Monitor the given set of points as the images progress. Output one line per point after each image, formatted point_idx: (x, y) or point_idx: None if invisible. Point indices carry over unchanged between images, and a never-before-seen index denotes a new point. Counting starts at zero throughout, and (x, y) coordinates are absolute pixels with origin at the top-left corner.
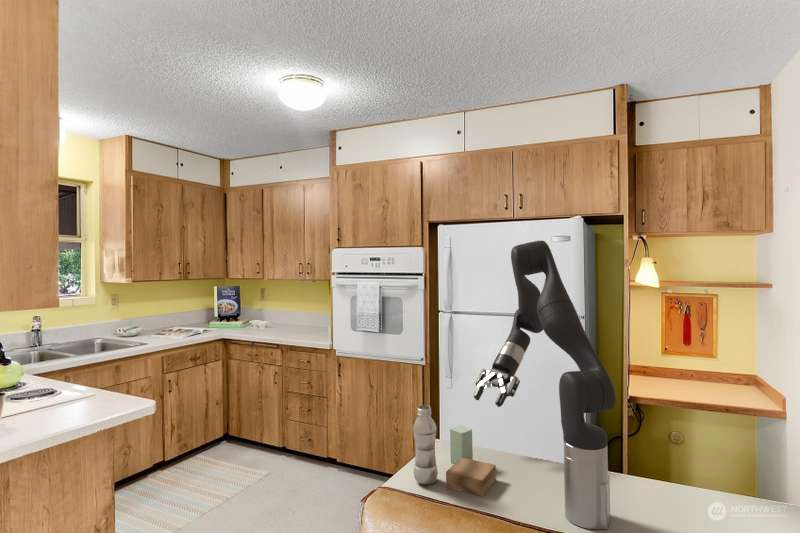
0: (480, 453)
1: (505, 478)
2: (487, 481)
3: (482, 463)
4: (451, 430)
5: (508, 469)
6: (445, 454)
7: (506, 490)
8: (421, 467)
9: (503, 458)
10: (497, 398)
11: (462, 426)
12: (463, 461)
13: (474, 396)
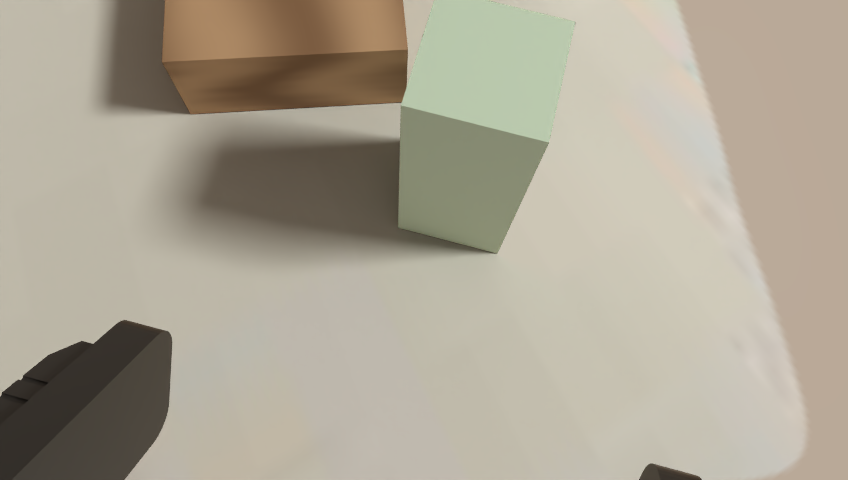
0: (429, 410)
1: (144, 156)
2: None
3: (246, 40)
4: (555, 20)
5: (159, 273)
6: (624, 259)
7: (103, 43)
8: None
9: (244, 422)
10: (105, 380)
11: (520, 129)
12: (366, 9)
13: (680, 474)
